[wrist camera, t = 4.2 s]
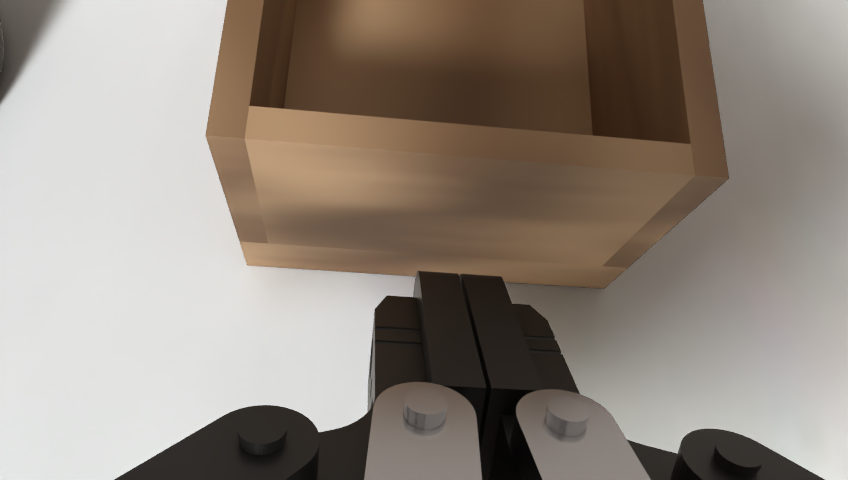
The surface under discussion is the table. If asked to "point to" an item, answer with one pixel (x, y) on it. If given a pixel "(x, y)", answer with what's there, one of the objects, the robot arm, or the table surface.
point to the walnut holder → (464, 133)
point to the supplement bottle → (1, 47)
